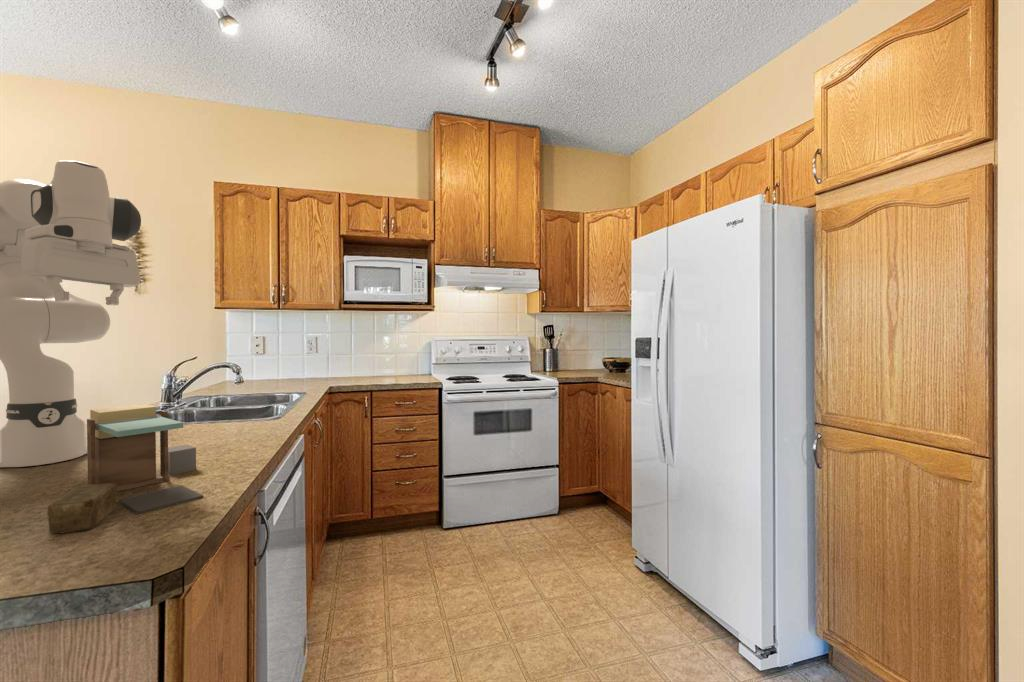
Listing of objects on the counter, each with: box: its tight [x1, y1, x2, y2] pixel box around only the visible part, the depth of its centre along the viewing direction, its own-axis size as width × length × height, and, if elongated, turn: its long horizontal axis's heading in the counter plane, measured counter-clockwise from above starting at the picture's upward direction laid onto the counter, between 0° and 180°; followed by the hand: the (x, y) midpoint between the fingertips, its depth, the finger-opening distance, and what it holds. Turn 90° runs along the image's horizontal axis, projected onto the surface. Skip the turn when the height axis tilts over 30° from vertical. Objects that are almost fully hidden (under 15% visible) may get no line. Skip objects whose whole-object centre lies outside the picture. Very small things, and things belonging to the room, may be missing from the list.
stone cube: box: [168, 444, 197, 476], centre depth 106 cm, size 5×5×5 cm
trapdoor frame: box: [85, 410, 171, 493], centre depth 95 cm, size 8×13×14 cm, turn 145°
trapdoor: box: [89, 403, 184, 439], centre depth 92 cm, size 18×10×5 cm, turn 55°
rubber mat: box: [117, 484, 204, 515], centre depth 87 cm, size 10×10×1 cm
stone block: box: [47, 483, 118, 534], centre depth 77 cm, size 6×12×5 cm, turn 24°
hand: (88, 303), depth 99 cm, fingers open, 8 cm apart
